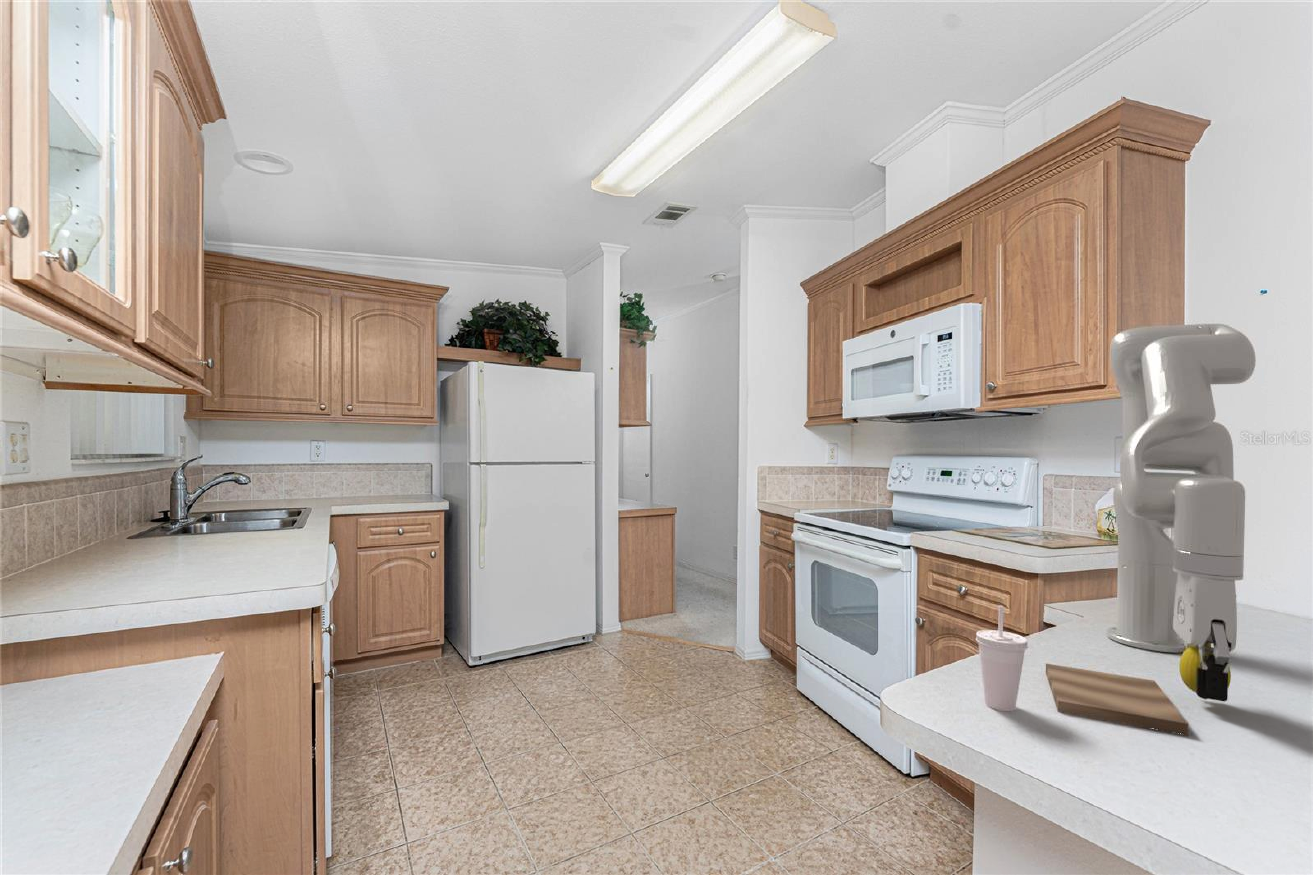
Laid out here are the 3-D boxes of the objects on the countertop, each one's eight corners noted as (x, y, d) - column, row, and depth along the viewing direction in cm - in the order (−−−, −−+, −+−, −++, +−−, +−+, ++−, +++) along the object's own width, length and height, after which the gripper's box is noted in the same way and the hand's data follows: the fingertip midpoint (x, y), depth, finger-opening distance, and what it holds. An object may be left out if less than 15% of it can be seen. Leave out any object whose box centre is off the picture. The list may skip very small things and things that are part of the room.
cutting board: (1045, 672, 100) (1045, 663, 100) (1154, 690, 94) (1154, 680, 94) (1057, 711, 85) (1057, 700, 85) (1188, 735, 79) (1188, 724, 79)
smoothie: (968, 705, 87) (970, 604, 87) (981, 692, 91) (983, 597, 91) (1020, 720, 82) (1022, 614, 82) (1031, 706, 87) (1033, 605, 87)
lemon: (1240, 709, 85) (1241, 651, 85) (1194, 705, 87) (1195, 648, 87) (1213, 693, 91) (1214, 638, 91) (1169, 689, 92) (1171, 635, 92)
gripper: (1158, 551, 98) (1155, 665, 98) (1192, 573, 83) (1188, 708, 83) (1220, 556, 94) (1217, 675, 95) (1267, 580, 79) (1263, 720, 79)
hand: (1204, 689), depth 89 cm, fingers closed on lemon, 5 cm apart
